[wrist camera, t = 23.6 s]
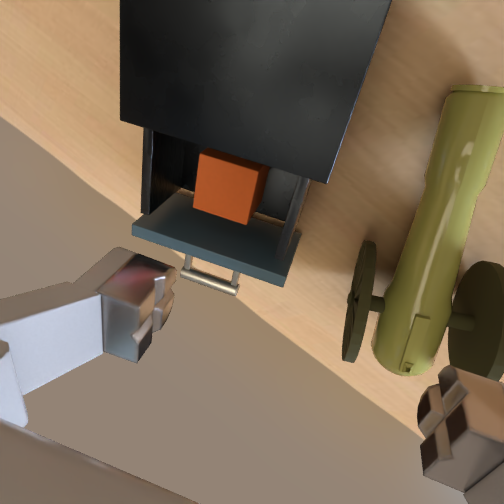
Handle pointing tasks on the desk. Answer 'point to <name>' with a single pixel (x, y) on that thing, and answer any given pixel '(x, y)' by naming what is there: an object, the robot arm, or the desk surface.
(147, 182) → the drawer
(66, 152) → the desk surface
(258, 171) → the block
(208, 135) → the cabinet
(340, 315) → the desk surface
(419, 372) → the cannon
